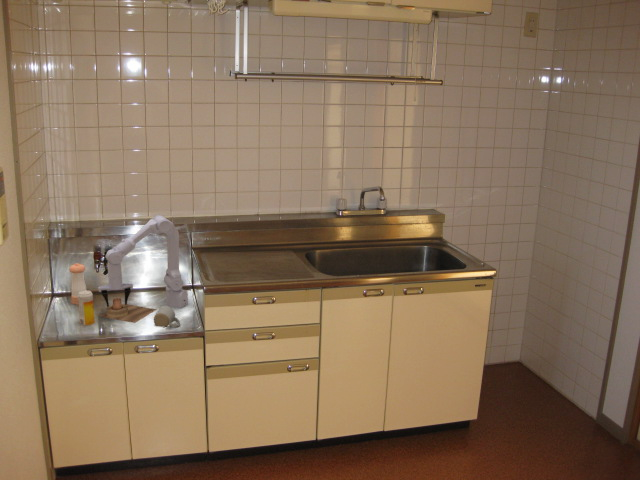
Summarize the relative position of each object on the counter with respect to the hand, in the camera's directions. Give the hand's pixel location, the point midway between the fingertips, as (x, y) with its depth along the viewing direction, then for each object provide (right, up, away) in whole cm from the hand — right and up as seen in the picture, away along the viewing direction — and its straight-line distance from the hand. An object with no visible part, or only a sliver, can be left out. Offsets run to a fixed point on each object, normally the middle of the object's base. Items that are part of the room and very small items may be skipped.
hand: (116, 305), depth 294 cm
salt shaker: (-23, 0, +17) cm, 29 cm away
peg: (0, -4, +1) cm, 4 cm away
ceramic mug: (+24, -8, -6) cm, 26 cm away
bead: (0, -4, +1) cm, 4 cm away
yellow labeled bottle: (-10, -8, -8) cm, 15 cm away
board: (+4, -5, +3) cm, 7 cm away
